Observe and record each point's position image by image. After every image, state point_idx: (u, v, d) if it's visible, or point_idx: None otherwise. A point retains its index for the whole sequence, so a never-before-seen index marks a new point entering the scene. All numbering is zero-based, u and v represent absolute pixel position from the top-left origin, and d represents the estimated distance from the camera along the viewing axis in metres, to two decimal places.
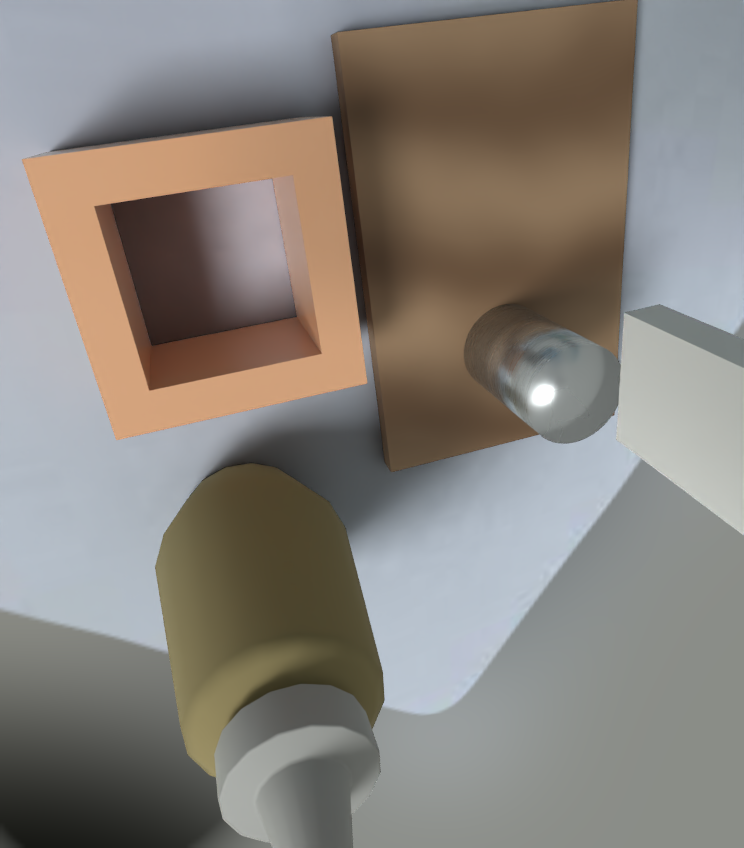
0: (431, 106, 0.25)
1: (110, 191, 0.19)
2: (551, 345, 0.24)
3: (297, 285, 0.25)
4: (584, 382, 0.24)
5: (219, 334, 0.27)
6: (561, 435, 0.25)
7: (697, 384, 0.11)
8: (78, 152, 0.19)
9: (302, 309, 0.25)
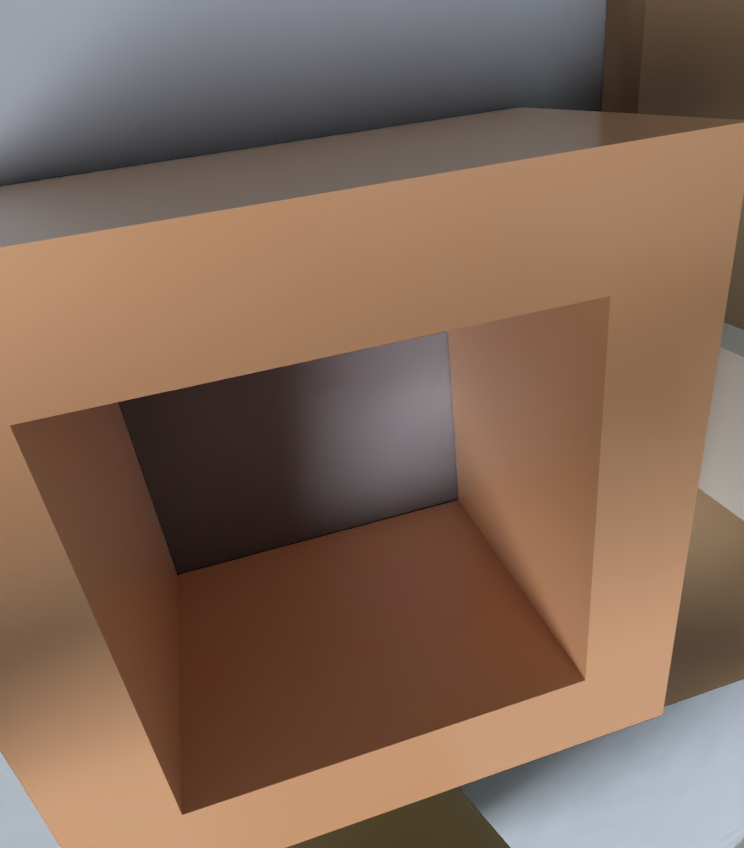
0: None
1: (61, 378, 0.06)
2: None
3: (492, 475, 0.12)
4: None
5: (312, 547, 0.13)
6: None
7: (721, 386, 0.10)
8: None
9: (499, 522, 0.12)
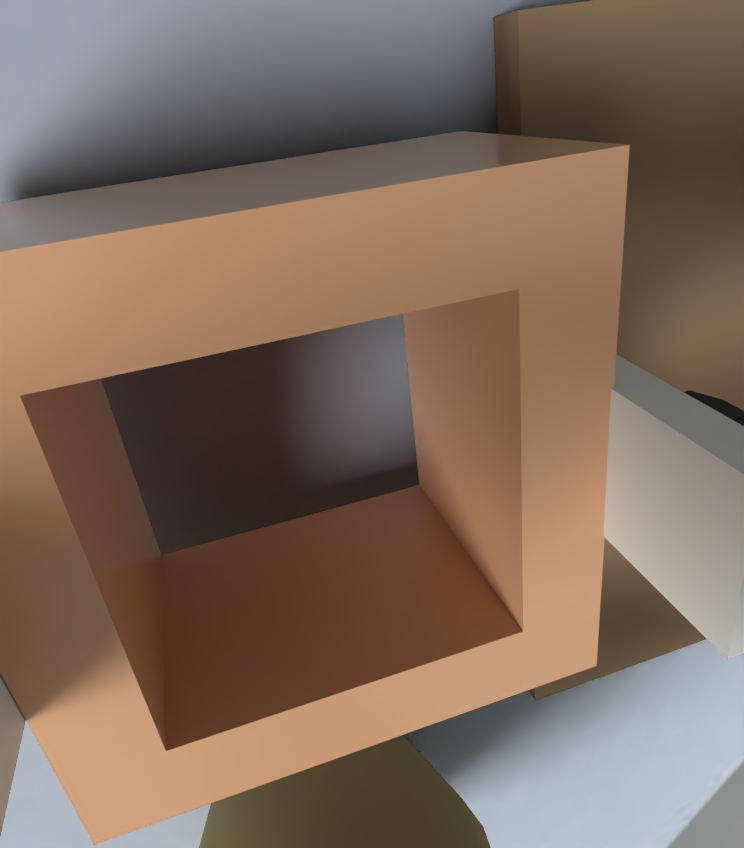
0: (665, 145, 0.14)
1: (63, 356, 0.07)
2: None
3: (444, 457, 0.13)
4: None
5: (285, 528, 0.14)
6: None
7: None
8: None
9: (451, 500, 0.13)
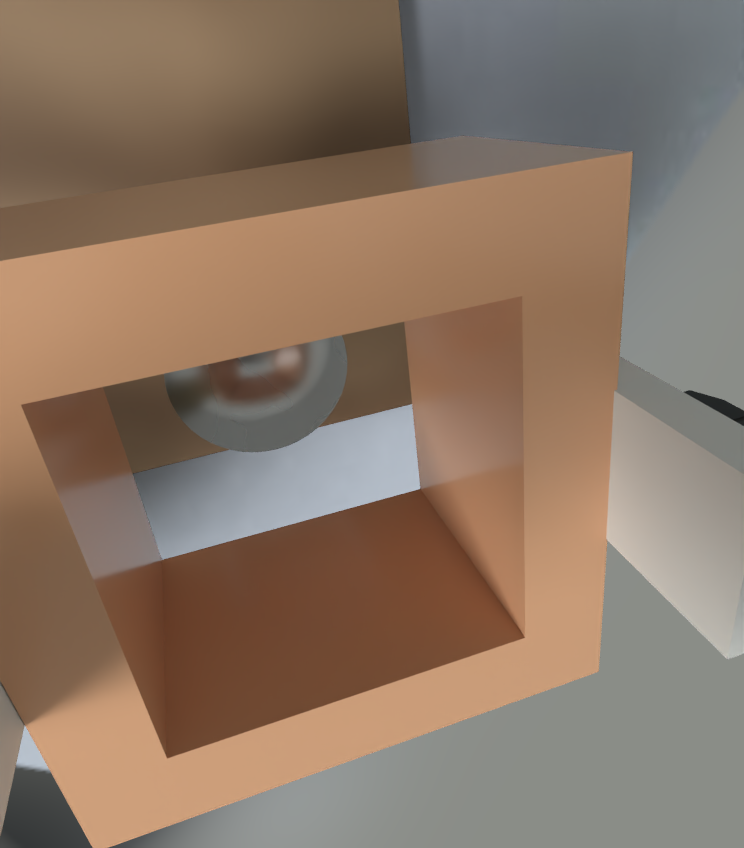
0: None
1: (63, 364, 0.07)
2: None
3: (446, 462, 0.13)
4: None
5: (286, 533, 0.14)
6: (245, 439, 0.15)
7: None
8: None
9: (453, 505, 0.13)
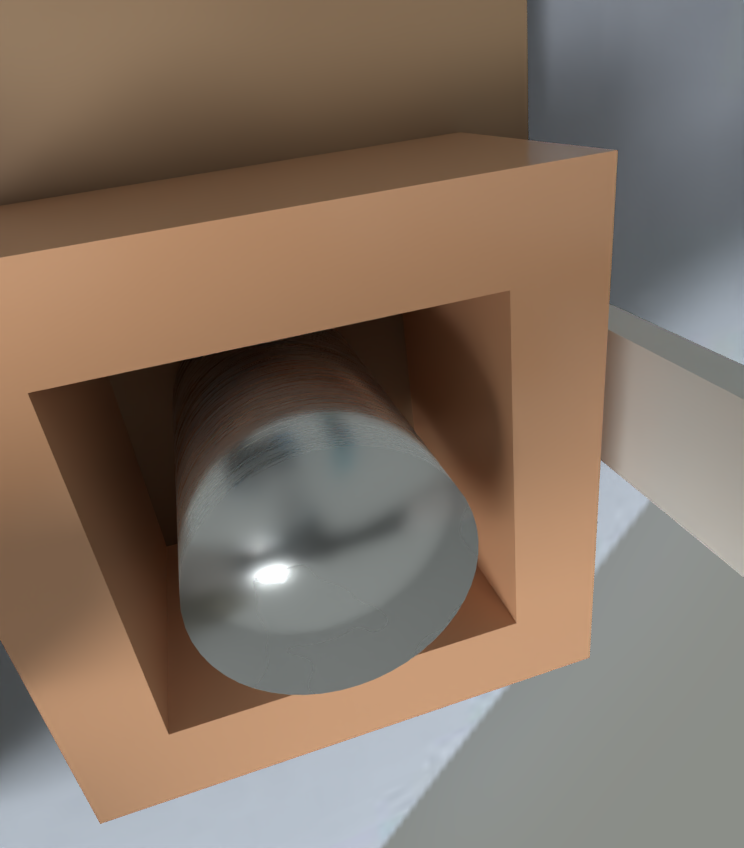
0: None
1: (68, 355, 0.07)
2: (253, 443, 0.08)
3: (442, 452, 0.13)
4: (354, 548, 0.08)
5: None
6: (310, 678, 0.09)
7: (639, 381, 0.11)
8: None
9: None
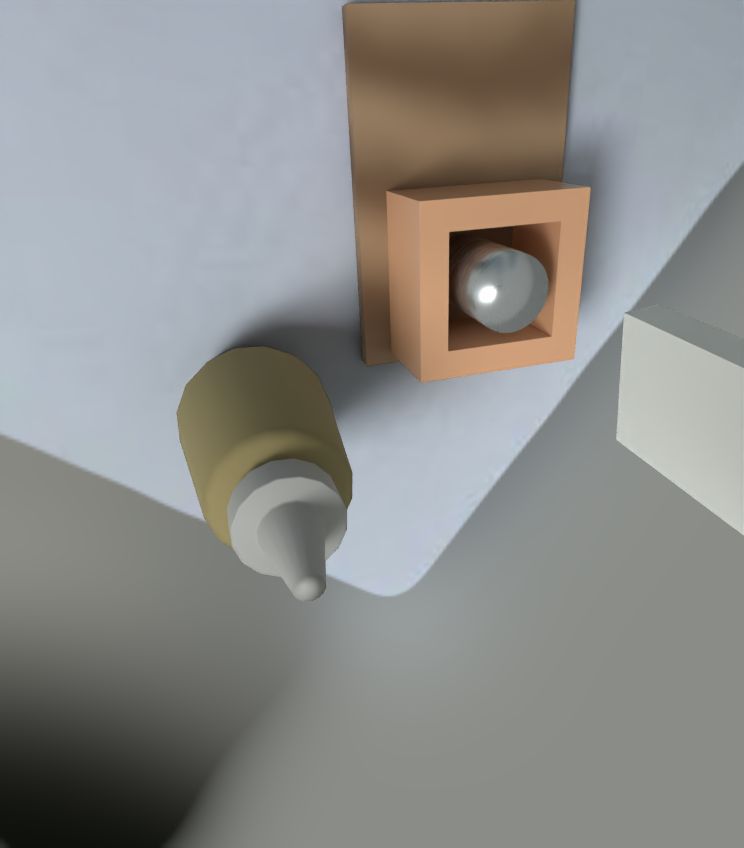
0: (415, 67, 0.32)
1: (460, 223, 0.31)
2: (494, 253, 0.32)
3: None
4: (518, 283, 0.32)
5: (460, 320, 0.38)
6: (499, 325, 0.33)
7: (697, 384, 0.11)
8: (449, 199, 0.30)
9: None
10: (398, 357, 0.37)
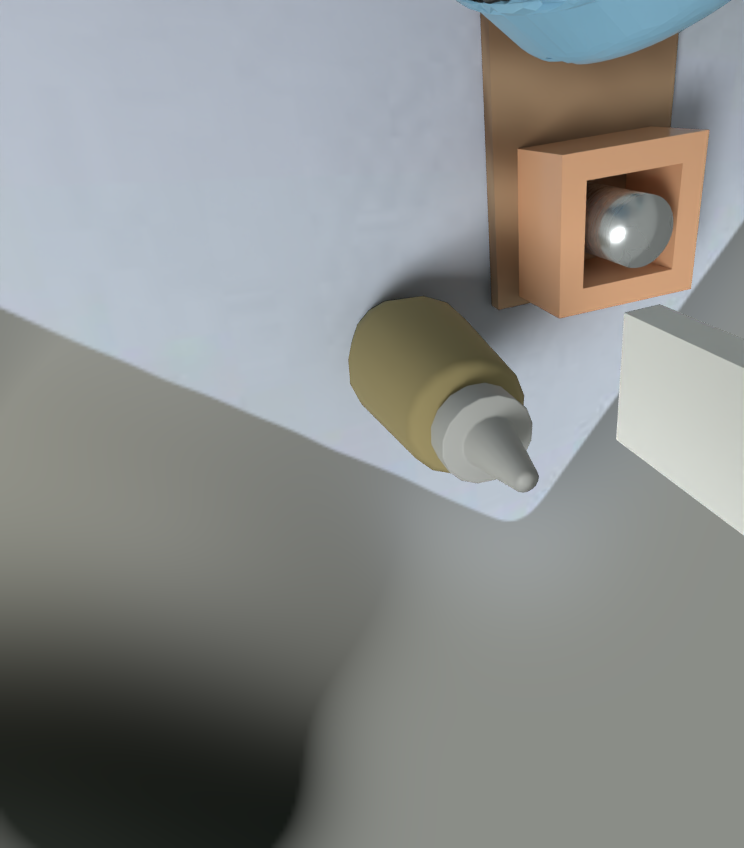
0: None
1: (596, 172, 0.35)
2: (625, 196, 0.36)
3: None
4: (647, 222, 0.36)
5: None
6: (630, 261, 0.37)
7: (696, 384, 0.11)
8: (587, 151, 0.34)
9: None
10: (529, 299, 0.41)
